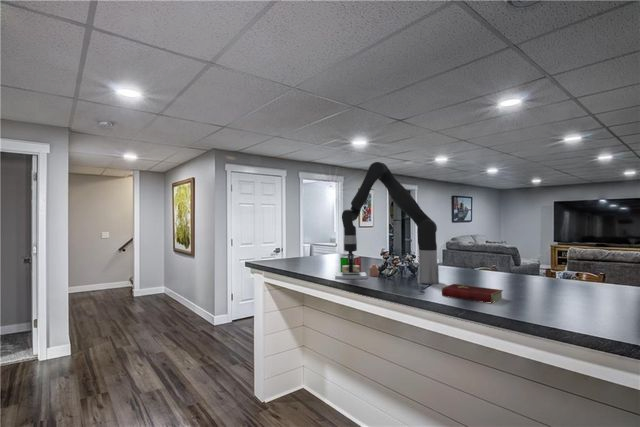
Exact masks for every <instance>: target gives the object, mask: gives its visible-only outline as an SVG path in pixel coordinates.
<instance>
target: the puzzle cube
mask: <svg viewBox="0 0 640 427" xmlns="http://www.w3.org/2000/svg"><path fill="white" fill-rule="evenodd" d="M348 264H349V262H348V257H347V255H346V256H341V257H340V272H342V265H348ZM353 265H359V272H362V257H361V256H359V255H358V256H355V255H354V262H353Z"/></svg>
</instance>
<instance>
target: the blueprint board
mask: <svg viewBox="0 0 640 427" xmlns="http://www.w3.org/2000/svg"><path fill="white" fill-rule="evenodd" d="M334 276H335V280H363V279H364V280H367V279H368V278H367V273H366V272H362V271H361V272H359V273H342V272H341V271H340V272H339V271H337V272H335V275H334Z"/></svg>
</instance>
